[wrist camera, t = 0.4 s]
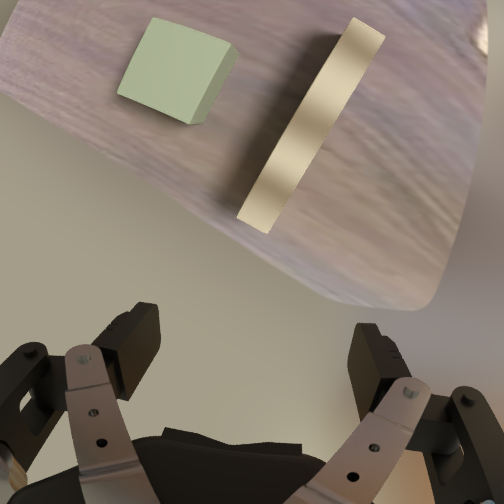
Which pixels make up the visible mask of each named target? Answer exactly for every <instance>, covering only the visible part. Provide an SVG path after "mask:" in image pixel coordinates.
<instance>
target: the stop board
mask: <svg viewBox="0 0 504 504" xmlns="http://www.w3.org/2000/svg"><path fill="white" fill-rule="evenodd" d="M384 39H385V36H384V35H382V34H380V33H379V32H377V31H376V30H374V29H373V28H371V27H369V26H368V25H366V24H364V23H363V22H361V21H359V20H358V19H356V18H354V17H353V19H352V20H351V22H350V23H349V25H348V26H347V28H346V29H345V31H344V32H343V34H342V35H341V37H340V38H339V40H338V42H337V43H336V45H335V46H334V48H333V50H332V51H331V53H330V55H329V56H328V58H327V60H326V61H325V63H324V64H323V66H322V68H321V69H320V71H319V73H318V74H317V76H316V78H315V79H314V81H313V83H312V84H311V86H310V88H309V89H308V91H307V93H306V94H305V96H304V98H303V100H302V101H301V103H300V105H299V106H298V108H297V110H296V111H295V113H294V115H293V117H292V118H291V120H290V122H289V123H288V125H287V127H286V129H285V130H284V132H283V134H282V136H281V137H280V139H279V141H278V142H277V144H276V146H275V148H274V149H273V151H272V153H271V155H270V156H269V158H268V160H267V162H266V164H265V165H264V167H263V169H262V171H261V172H260V174H259V176H258V178H257V180H256V181H255V183H254V185H253V187H252V188H251V190H250V192H249V194H248V196H247V197H246V199H245V201H244V203H243V205H242V207H241V209H240V211H239V213H238V215H237V217H236V218H238V219H240V220H242V221H243V222H245V223H247V224H249V225H251V226H253V227H254V228H256V229H258V230H260V231H262V232H264V233H265V234H268V232H269V231H270V229H271V227H272V226H273V224H274V222H275V221H276V219H277V217H278V216H279V214H280V212H281V211H282V209H283V207H284V206H285V204H286V202H287V201H288V199H289V197H290V196H291V194H292V192H293V191H294V189H295V187H296V186H297V184H298V182H299V181H300V179H301V177H302V176H303V174H304V172H305V171H306V169H307V167H308V166H309V164H310V163H311V161H312V159H313V158H314V156H315V154H316V153H317V151H318V149H319V148H320V146H321V144H322V143H323V141H324V139H325V138H326V136H327V134H328V133H329V131H330V129H331V128H332V126H333V124H334V123H335V121H336V119H337V117H338V116H339V114H340V112H341V111H342V109H343V107H344V106H345V104H346V102H347V101H348V99H349V97H350V96H351V94H352V92H353V91H354V89H355V87H356V86H357V84H358V82H359V81H360V79H361V77H362V76H363V74H364V72H365V71H366V69H367V67H368V66H369V64H370V62H371V61H372V59H373V57H374V56H375V54H376V52H377V50H378V49H379V47H380V45H381V44H382V42H383V40H384Z"/></svg>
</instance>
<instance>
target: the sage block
mask: <svg viewBox="0 0 504 504" xmlns="http://www.w3.org/2000/svg"><path fill="white" fill-rule="evenodd" d="M239 55H240V54H239V53H238V51H237V50H236V49H235V48H234V46H233V45H232V44H231V43H228V42H226V41H223V40H221V39H218V38H216V37H213V36H210V35H208V34H205V33H202V32H199V31H196V30H194V29H191V28H188V27H185V26H182V25H178V24H175V23H172V22H169V21H165V20H162V19H159V18H155V17H153V19H152V21H151V22H150V24H149V26H148V28H147V30H146V32H145V33H144V35H143V37H142V39H141V41H140V43H139V45H138V47H137V49H136V51H135V53H134V55H133V57H132V59H131V62H130V64H129V66H128V68H127V70H126V72H125V75H124V77H123V79H122V81H121V84H120V86H119V88H118V91H117V94H120V95H122V96H125V97H127V98H130V99H132V100H134V101H137V102H139V103H142V104H144V105H146V106H149V107H151V108H153V109H156V110H158V111H160V112H163V113H165V114H167V115H169V116H172V117H174V118H176V119H178V120H180V121H183V122H185V123H187V124H200V123H204V121H205V119H206V117H207V115H208V113H209V111H210V109H211V107H212V105H213V103H214V101H215V99H216V97H217V95H218V93H219V91H220V89H221V87H222V86H223V84H224V82H225V80H226V78H227V76H228V74H229V73H230V71H231V69H232V67H233V65H234V64H235V62H236V60H237V58H238V57H239Z"/></svg>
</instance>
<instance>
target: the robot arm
mask: <svg viewBox="0 0 504 504" xmlns="http://www.w3.org/2000/svg"><path fill="white" fill-rule="evenodd" d="M160 343H161V333H160V323H159V310H158V306H157V305H156V304H152V303H144V302H138V303H137V304H136V305H135V306H134V308H133V309H132V310H131V311H130V312H124V313H122V314H120V315H118V316H117V317H116V318H115V319H114V320H113V321H112V322H111V324H109V325H108V326H107V327H106V329H105V330H104V331H103V332H102V333H101V334H100V335H99V336H98V337H97V338H96V339H95V340H94V341H93V343H92V344H91V345H88V344H84V345H78V346H75V347H73V348H71V349H70V350H68V351H67V353H66V355H65V356H52V355H48V352H47V348H46V346H45V345H44V344H42V343H39V342H29V343H26V344H23V345H21V346H20V347H18V348H17V349H16V350H15V351H14V352H13V353H12V354H11V355H10V356H9V357H8V358H7V359H6V360H5V361H4V362H3V363H2V364H1V365H0V504H374V503H373V502H372V501H373V499H374V498H375V497H376V495H377V494H378V492H379V491H380V489H381V488H382V486H383V485H384V483H385V481H386V480H387V478H388V477H389V475H390V473H391V472H392V470H393V469H394V467H395V465H396V464H397V462H398V460H399V458H400V457H401V455H402V453H403V451H404V450H405V449H406V450H412V451H420V452H422V453H423V456H424V459H425V464H426V467H427V471H428V475H429V479H430V483H431V487H432V491H433V496H434V500H435V504H504V432H503V430H502V428H501V426H500V425H499V423H498V421H497V419H496V417H495V415H494V414H493V412H492V410H491V408H490V406H489V404H488V403H487V401H486V399H485V397H484V396H483V395H482V394H481V392H479V391H478V390H476V389H474V388H472V387H468V386H460V387H457V388H456V389H454V391H453V392H452V394H451V396H450V397H446V396H440V395H434V394H431V391H430V388H429V387H428V385H427V384H426V383H424V382H423V381H421V380H419V379H417V378H413V377H412V376H411V374H410V372H409V370H408V367H407V365H406V364H405V361H404V359H402V356H401V354H400V352H399V350H398V348H397V346H396V344H395V342H393V341H392V340H391V339H390V338H389V337H387V336H382V335H381V333H380V331H379V329H378V327H377V325H376V324H374V323H357V324H356V327H355V330H354V335H353V339H352V343H351V347H350V351H349V355H348V364H347V365H348V372H349V376H350V380H351V384H352V388H353V392H354V396H355V401H356V404H357V409H358V413H359V418H360V422H361V423H360V424H359V425H358V427H357V428H356V429H355V430H354V432H353V433H352V434H351V436H350V437H349V438H348V439H347V440H346V441H345V443H344V444H343V445H342V446H341V448H340V449H339V450H338V451H337V452H336V453H335V454H334V455H333V457H332V458H331V459H330V460H329V461H328V462H327V463H326V462H324V461H322V460H320V459H318V458H316V457H312V456H310V455H306V454H302V444H291V443H274V442H263V443H253V444H242V445H228V444H225V443H222V442H220V441H217V440H214V439H211V438H208V437H206V436H203V435H200V434H198V433H193V432H187V431H182V430H177V429H171V428H167V427H165V428H164V431H163V433H162V435H161V436H149V437H143V438H139V439H135V440H132V441H131V439H130V436H129V434H128V431H127V429H126V426H125V423H124V421H123V418H122V415H121V412H120V410H119V406H118V403H117V399H122V400H125V401H129V399H130V398H131V396H132V394H133V392H134V391H135V389H136V387H137V385H138V384H139V382H140V381H141V379H142V377H143V375H144V374H145V372H146V371H147V369H148V367H149V366H150V364H151V362H152V361H153V359H154V357H155V356H156V354H157V352H158V350H159V348H160ZM28 391H29V393H30V395H31V397H32V398H31V399H30V400H29V402H28V403H27V404H26V405H25V407H24V408H23V409H22V411H21V412H20V402H21V400H22V398H23V397H24V396H25V395H26V394H27V392H28ZM64 411H68V417H69V423H70V428H71V434H72V439H73V444H74V448H75V453H76V458H77V462H78V465H77V466H75V467H73V468H70V469H68V470H65V471H63V472H61V473H58V474H56V475H53V476H50V477H48V478H45V479H43V480H40V481H37V482H35V483H32V484H30V485H27V480H28V479H27V475H26V472H27V471H28V469H29V467H30V465H31V464H32V462H33V461H34V459H35V457H36V456H37V454H38V452H39V451H40V449H41V448H42V446H43V444H44V443H45V441H46V439H47V438H48V436H49V435H50V433H51V432H52V430H53V429H54V427H55V425H56V424H57V422H58V421H59V419H60V417H61V416H62V415H63V413H64ZM460 445H461V446H462V449H463V452H464V455H463V452H462V450H461V447H460Z"/></svg>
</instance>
